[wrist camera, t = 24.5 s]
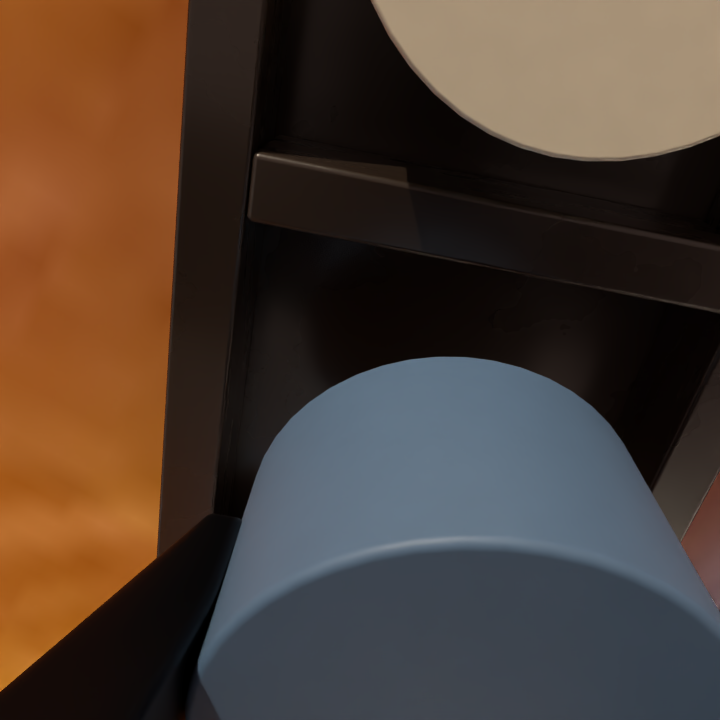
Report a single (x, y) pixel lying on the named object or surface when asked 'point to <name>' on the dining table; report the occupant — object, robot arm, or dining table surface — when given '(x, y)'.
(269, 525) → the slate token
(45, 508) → the dining table surface
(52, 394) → the dining table surface
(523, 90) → the cylinder
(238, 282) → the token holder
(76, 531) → the dining table surface
